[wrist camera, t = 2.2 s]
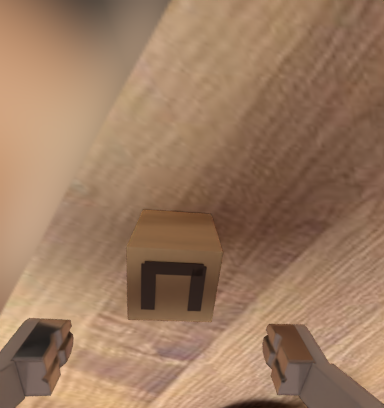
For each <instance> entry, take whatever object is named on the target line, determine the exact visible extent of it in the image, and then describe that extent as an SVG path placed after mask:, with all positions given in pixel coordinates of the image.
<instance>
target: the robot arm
mask: <svg viewBox="0 0 384 408" xmlns="http://www.w3.org/2000/svg"><path fill="white" fill-rule="evenodd" d="M71 327H72V325H71V320H62V319H39V318H29V319H27V320H26V321H25V322H24V323H23V324H22V325H21V326H20V328H19V329H18V330H17V331H16V333H15V334H14V335H13V336H12V338H11V339H10V340H9V341H8V343H7V344H6V345H5V346H4V348H3V349H2V350H1V351H0V408H15V407H16V406H17V405H18V404H19V403H20V402H21V401H22V400H24V399H25V396H51V394H52V392H53V390H54V388H55V386H56V384H57V381H58V379H59V377H60V375H61V373H60V367H62V366H63V365H64V364H65V363H66V362H67V361H68V358H69V356H70V354H71V351H72V347H73V334H72V333H71V332H70V329H71ZM266 331H267V334H268V335H267V336H265V337H264V340H263V354H264V358H265V361H266V364H267V365H268V366H269V367H270V368H271V369H272V372H271V378H272V381H273V383H274V386H275V389H276V392H277V395H300V396H299V397H300V399H301V400H302V401H303V402H304V403H305V405H306V406H307V407H308V408H384V404H383V403H382V402H380V401H379V400H378V399H377V398H375V397H374V396H373V395H372V394H370V393H369V392H368V391H367V390H365V389H364V388H363V387H362V386H360V385H359V384H358V383H357V382H355V381H354V380H353V379H352V378H350V377H349V376H348V375H347V374H345V373H344V372H343V371H342V370H340V369H339V368H338V367H337V366H335V365H334V364H330V363H329V362H328V360H327V359H326V357H325V355H324V354H323V352H322V351H321V349H320V347H319V346H318V344H317V343H316V341H315V339H314V338H313V336H312V335H311V333H310V331H309V330H308V328H307V327H306V326H305V325H304V324H269V325H268V326H267V329H266Z"/></svg>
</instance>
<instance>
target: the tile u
mask: <svg viewBox="0 0 384 408" xmlns="http://www.w3.org/2000/svg"><path fill="white" fill-rule="evenodd" d="M126 257H127V306H128V320H157V321H191V322H212V316H213V310H214V304H215V298H216V292H217V286H218V281H219V275H220V269H221V263H222V257H223V250H222V247H221V244H220V241H219V238H218V234H217V231H216V228H215V225H214V222H213V218H212V215H211V214H205V213H190V212H175V211H160V210H145V209H143V211H142V213H141V215H140V217H139V220H138V222H137V224H136V226H135V229H134V231H133V233H132V236H131V238H130V240H129V242H128V245H127V247H126Z"/></svg>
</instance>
